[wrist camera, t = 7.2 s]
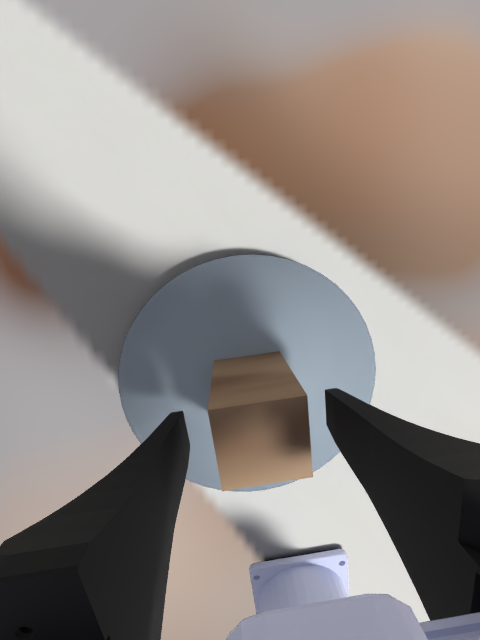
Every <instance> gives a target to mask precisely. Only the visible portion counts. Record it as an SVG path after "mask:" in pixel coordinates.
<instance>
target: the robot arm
mask: <svg viewBox="0 0 480 640" xmlns="http://www.w3.org/2000/svg"><path fill="white" fill-rule="evenodd" d="M325 406H326V425H327V427H328V429H329V431H330V433H331V435H332V437H333V439H334V441H335V443H336V445H337V447H338V448H339V450H340V451H341V453H342V455H343V456H344V458H345V459H346V461H347V462H348V464H349V466H350V467H351V469H352V470H353V472H354V473H355V475H356V476H357V478H358V479H359V481H360V483H361V484H362V486H363V487H364V489H365V491H366V492H367V494H368V496H369V497H370V499H371V501H372V503H373V505H374V506H375V508H376V510H377V512H378V514H379V516H380V518H381V520H382V522H383V524H384V525H385V527H386V529H387V531H388V533H389V535H390V537H391V539H392V541H393V543H394V545H395V547H396V549H397V551H398V553H399V555H400V557H401V559H402V561H403V563H404V566H405V568H406V570H407V572H408V574H409V576H410V578H411V580H412V582H413V584H414V586H415V588H416V590H417V593H418V595H419V597H420V599H421V601H422V603H423V606H424V608H425V610H426V612H427V614H428V616H429V619H430V621H427V622H422V623H419V622H418V620H417V618H416V617H415V615H414V613H413V611H412V609H411V607H410V606H408V605H406V604H405V603H403V602H401V601H399V600H397V599H396V598H394V597H392V596H390V595H388V594H363V595H357V596H352V597H349V585H348V557H347V554H346V552H345V550H343V549H336V550H330V551H324V552H318V553H312V554H306V555H300V556H294V557H288V558H282V559H276V560H270V561H264V562H258V563H254V564H252V565H251V566H250V577H251V583H252V589H253V595H254V601H255V607H256V613H257V614H256V615H253V616H251V617H248V618H245V619H243V620H242V621H241V622H240V623H239V624H238V625H237V626H236V627H235V628H234V629H233V630H232V631H231V632H230V633H229V635H228V636H227V638H226V640H480V444H479V443H475V442H471V441H467V440H463V439H459V438H456V437H452V436H449V435H446V434H442V433H439V432H436V431H433V430H430V429H427V428H424V427H421V426H418V425H415V424H413V423H410V422H407V421H405V420H402V419H400V418H398V417H395V416H393V415H391V414H389V413H386V412H384V411H382V410H380V409H378V408H376V407H374V406H372V405H370V404H368V403H366V402H364V401H362V400H360V399H358V398H356V397H354V396H352V395H350V394H348V393H346V392H344V391H342V390H340V389H338V388H332V389H326V390H325ZM189 454H190V441H189V437H188V432H187V427H186V422H185V418H184V413H183V411H178V412H171V413H170V414H169V415H168V416H167V417H166V418H165V419H164V420H163V421H162V423H161V424H160V425H159V426H158V427H157V428H156V429H155V430H154V431H153V432H152V433H151V434H150V436H149V437H148V438H147V439H146V440H145V441H144V442H143V443H142V444H141V445H140V446H139V447H138V448H137V449H136V450H135V451H134V452H133V453H132V454H131V455H130V456H129V457H127V458H126V459H125V460H124V461H123V462H122V463H121V464H120V465H118V466H117V467H116V468H115V469H114V470H113V471H111V472H110V473H109V474H108V475H107V476H105V477H104V478H103V479H101V480H100V481H99V482H97V483H96V484H95V485H93V486H92V487H90V488H89V489H88V490H86V491H85V492H84V493H82V494H81V495H80V496H78V497H77V498H75V499H74V500H72V501H71V502H69V503H68V504H66V505H65V506H63V507H62V508H60V509H59V510H57V511H55V512H54V513H52V514H51V515H49V516H47V517H46V518H44V519H42V520H41V521H39V522H37V523H36V524H34V525H32V526H30V527H28V528H27V529H25V530H23V531H22V532H20V533H18V534H16V535H14V536H13V537H11V538H9V539H7V540H5V541H4V542H3V543H2V544H1V546H0V640H160V639H161V630H162V621H163V612H164V603H165V594H166V585H167V578H168V570H169V562H170V554H171V548H172V541H173V533H174V528H175V522H176V517H177V513H178V509H179V504H180V500H181V496H182V491H183V487H184V483H185V478H186V474H187V469H188V463H189Z"/></svg>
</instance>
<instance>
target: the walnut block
mask: <svg viewBox="0 0 480 640" xmlns="http://www.w3.org/2000/svg"><path fill="white" fill-rule="evenodd" d="M208 416H209V421H210V427H211V432H212V438H213V443H214V449H215V454H216V460H217V465H218V471H219V476H220V482H221V487H222V491H227V490H234V489H240V488H246V487H253V486H259V485H265V484H272V483H278V482H284V481H291V480H297V479H304V478H310V477H313V469H312V455H311V441H310V426H309V412H308V397H307V394H306V392H305V391H304V389H303V388H302V386H301V384H300V383H299V381H298V380H297V378H296V377H295V375H294V373H293V372H292V370H291V369H290V367H289V365H288V364H287V362H286V361H285V359H284V357H283V356H282V354H281V353H280V351H278V352H270V353H263V354H256V355H249V356H242V357H235V358H228V359H221V360H214V365H213V372H212V380H211V387H210V395H209V403H208Z"/></svg>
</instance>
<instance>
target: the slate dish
mask: <svg viewBox="0 0 480 640" xmlns="http://www.w3.org/2000/svg"><path fill="white" fill-rule="evenodd" d="M278 351H280V353H281V354H282V356H283V357H284V359H285V361H286V362H287V364H288V365H289V367H290V369H291V370H292V372H293V373H294V375H295V377H296V378H297V380H298V381H299V383H300V384H301V386H302V388H303V389H304V391H305V392H306V394H307V397H308V412H309V426H310V441H311V455H312V469H313V472H314V471H316V470H318V469H319V468H321V467H322V466H323V465H325V464H326V463H328V462H329V461H330V460H332V459H333V458H334V457H335V456H336V455H337V454H338V453H339V452H340V450H339V448H338V447H337V445H336V443H335V441H334V439H333V437H332V435H331V433H330V431H329V429H328V427H327V425H326V406H325V390H326V389H332V388H338V389H340V390H342V391H344V392H346V393H348V394H350V395H352V396H354V397H356V398H358V399H360V400H362V401H364V402H366V403H368V404H370V402H371V399H372V394H373V389H374V384H375V371H376V367H375V353H374V349H373V344H372V339H371V336H370V334H369V331H368V328H367V325H366V323H365V321H364V319H363V318H362V316H361V314H360V312H359V310H358V309H357V307H356V306H355V305H354V303H353V302H352V301H351V300H350V298H349V297H348V296H347V295H346V294H345V293H344V292H343V291H342V290H341V289H340V288H339V287H338V286H337V285H336V284H335V283H333V282H332V281H331V280H329V279H328V278H326V277H325V276H324V275H322V274H321V273H319V272H317V271H315V270H313V269H311V268H309V267H307V266H305V265H302V264H300V263H297V262H294V261H291V260H288V259H284V258H279V257H274V256H266V255H237V256H229V257H224V258H219V259H215V260H212V261H209V262H206V263H203V264H200V265H197V266H195V267H193V268H191V269H189V270H187V271H185V272H183V273H181V274H179V275H178V276H177V277H175V278H174V279H172V280H171V281H169V282H168V283H167V284H165V285H164V286H163V287H162V288H161V289H160V290H158V291H157V292H156V293H155V294H154V295H153V296H152V297H151V298H150V299H149V300H148V302H147V303H146V304H145V305H144V307H143V308H142V309H141V310H140V312H139V313H138V315H137V317H136V318H135V320H134V322H133V323H132V325H131V327H130V329H129V331H128V334H127V336H126V339H125V341H124V344H123V348H122V352H121V356H120V363H119V373H118V379H119V393H120V398H121V403H122V407H123V410H124V413H125V416H126V418H127V421H128V423H129V425H130V427H131V429H132V430H133V433H134V434H135V436H136V437H137V439H138V440H139V442H140V443H141V444H142V443H143V442H144V441H145V440H146V439H147V438H148V437H149V436H150V434H151V433H152V432H153V431H154V430H155V429H156V428H157V427H158V426H159V425H160V424H161V423H162V421H163V420H164V419H165V418H166V417H167V416H168V415H169V414H170V413H171V412H178V411H183V413H184V418H185V422H186V427H187V432H188V437H189V441H190V454H189V463H188V469H187V474H186V478H185V479H186V480H189V481H191V482H193V483H196V484H199V485H202V486H205V487H209V488H214V489H218V490H222V487H221V482H220V476H219V471H218V465H217V460H216V454H215V449H214V443H213V438H212V432H211V427H210V421H209V416H208V403H209V395H210V387H211V380H212V372H213V365H214V360H221V359H228V358H235V357H242V356H249V355H256V354H263V353H270V352H278ZM297 480H299V479H297ZM297 480H291V481H284V482H278V483H272V484H265V485H259V486H253V487H246V488H240V489H234V490H227V491H259V490H266V489H271V488H276V487H280V486H283V485H286V484H289V483H292V482H294V481H297Z"/></svg>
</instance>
